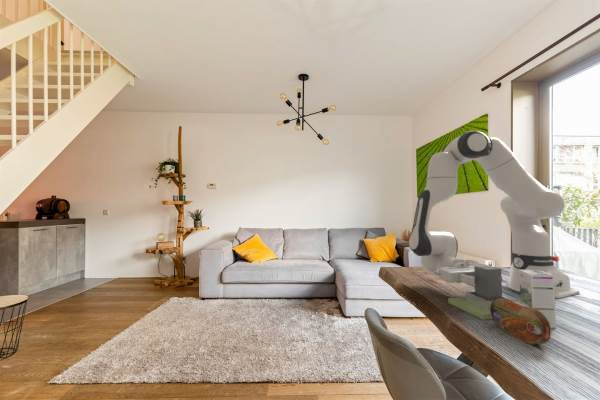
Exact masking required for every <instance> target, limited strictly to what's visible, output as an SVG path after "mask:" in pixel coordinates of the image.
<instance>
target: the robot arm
mask: <svg viewBox="0 0 600 400" xmlns="http://www.w3.org/2000/svg"><path fill="white" fill-rule="evenodd" d="M472 161H475V162H477V163H478V164H479V165H481V168H482V169H483V170H484V172H485V173H486V175H487V177H489V179H490V180H491V182H492V183H493V184H494V186H495V188H497V189H499V190H501V191H502V192H504V193H505V194H506V195H504V197H503V198H502V199H501V201H500V209H501V210H502V212H503V213H504V214H505V216H506V219H507V221H508V224H509V228H510V231H511V245H512V246H511V247H512V252H511V255H510V258H511V262H512V263H511V265H510V269H509V279H508V280H507V285H508V286H507V287H508V288H509V289H511V290H513V291H515V292H519V293H520V276H519V270H540V271H543V272H546V273H549V274H551V275H554V291H555V299H561V298H565V297H570V296H574V295H578V294H580V290H579V289H576V288H575V287H571V281H570V278H569V277H570V276H569V275H567V274H565V273H564V272H563V271H562V270H561V269H559V268H558V267H557V266H555V263H554V262H556V263H557V262H558V263H559V256H556V255H555V256H554V255H551V254H550V235H549V233H548V232H547V231H546V230H545V228H544V227H543V225H542V222H541V220H546V219H551V218H555V217H557V216H560V215H561V214H562V213H563V211H564V210H565V206H566V205H565V200H564V198H563V196H562V195H560V194H559V193H558V192H555V191H553V190H551V189H549V188H547V187H546V186H545V185H543V184H542V183H540V182H539V181H538V180H537V179H536V178H535V177H534V176H533V175H531V174H530V173H529V172H528V171H527V169H526V168H525V167H524V165H522V163H521V162H520V161H519V160H518V158H517V157H516V155H515V154H514V152H512V150H511V148H510V147H508V146H507V145H506V144H505V142H503V141H502V140H501V139H499V138H498V137H489V136H488V135H487V134H486V133H484V132H482V131H480V130H470V131H466V132H464V133H462V134H460V135H459V136H456V137H455V138H454V139H453V140H451V142H449V143H447V144H446V145H445V147H444V148H443V149H442V151H439V152H435V153H434V154H433V155H432V156H431V157H430V159H429V162H428V167H427V172H426V173H427V175H426V176H427V177H426V186H425V188H424V190H422V191H421V192H420V193H419V195H418V198H417V203H416V207H415V213H414V218H413V224H412V229H411V232H410V234H409V237H408V247H409V249H410V250H411V252H413V254H415V256H417V257H421V258H420V263H421V266H422V268H423V269H424V270H425V271H426V272H429V273H430V274H432V275H434V276H437V277H438V278H439V279H441V280H442V281H445V282H447V283H453V284H454V283H456V284H461V283H469V284H470V283H471V284H475V283H477V278H476V277H475V272H474V266H484V265H486V264H484V263H479V261H478V260H474V259H473V260H472V259H463V258H458V257H457V255H458V251H459V243H458V240H457V238H456V236H455V235H454V234H453V233H452V232H450V231H443V230H441V231H440V230H437V231H436V230H428V227H429V222H430V216H431V211H432V209H433V208H434V207H435V206H436V205H438V204H440V203H443V202H446V201H448V200H450V199H452V197H454V196H455V195H456V193H457V190H458V186H459V185H458V184H459V183H458V181H459V180H458V175H459V174H458V170H459V167H460V166H461V165H463V164H467V163H471V162H472ZM501 279H502V280H503V276H502V275H501Z"/></svg>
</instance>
